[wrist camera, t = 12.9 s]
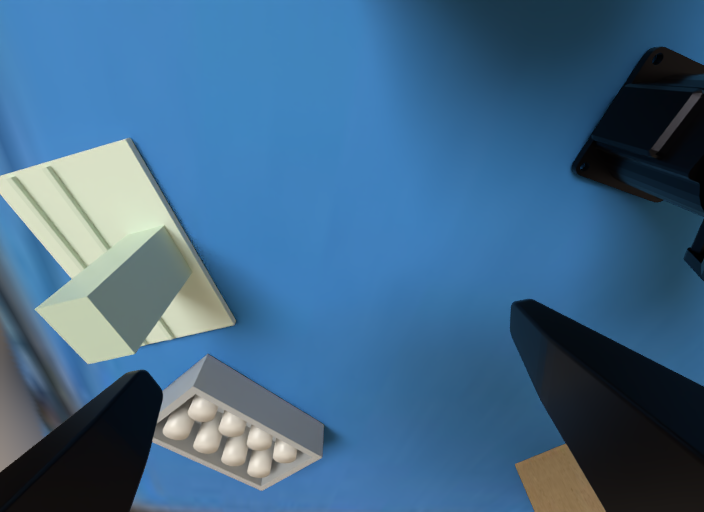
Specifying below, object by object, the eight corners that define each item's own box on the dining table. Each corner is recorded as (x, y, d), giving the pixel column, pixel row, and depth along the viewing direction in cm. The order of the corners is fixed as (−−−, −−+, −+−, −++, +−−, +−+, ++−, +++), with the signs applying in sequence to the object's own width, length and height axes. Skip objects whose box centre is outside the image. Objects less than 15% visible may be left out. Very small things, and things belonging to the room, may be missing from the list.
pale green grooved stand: (133, 136, 18) (9, 180, 11) (237, 317, 25) (198, 413, 18) (1, 175, 19) (-189, 238, 12) (136, 340, 25) (62, 440, 19)
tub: (207, 354, 26) (193, 386, 23) (323, 424, 31) (322, 457, 28) (151, 399, 28) (133, 433, 26) (267, 457, 34) (261, 490, 31)
